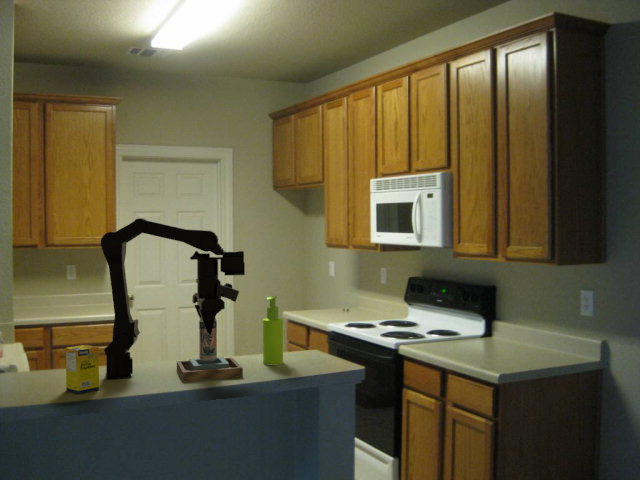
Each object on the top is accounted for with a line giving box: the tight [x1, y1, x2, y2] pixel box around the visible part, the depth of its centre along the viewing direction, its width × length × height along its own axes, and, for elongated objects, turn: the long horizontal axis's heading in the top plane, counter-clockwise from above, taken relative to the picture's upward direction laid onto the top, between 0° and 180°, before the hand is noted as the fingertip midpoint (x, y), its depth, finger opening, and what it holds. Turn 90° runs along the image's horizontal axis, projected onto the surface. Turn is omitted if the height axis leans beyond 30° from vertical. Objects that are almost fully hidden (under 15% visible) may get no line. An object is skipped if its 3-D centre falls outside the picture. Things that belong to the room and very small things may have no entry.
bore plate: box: [189, 356, 229, 371], centre depth 190 cm, size 10×10×3 cm
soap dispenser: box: [262, 295, 284, 366], centre depth 203 cm, size 6×7×20 cm
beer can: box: [198, 317, 218, 362], centre depth 190 cm, size 5×5×12 cm
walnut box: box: [176, 356, 244, 383], centre depth 190 cm, size 16×15×2 cm
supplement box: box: [65, 344, 100, 395], centre depth 172 cm, size 6×6×11 cm
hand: (208, 331), depth 190 cm, fingers closed on beer can, 5 cm apart
